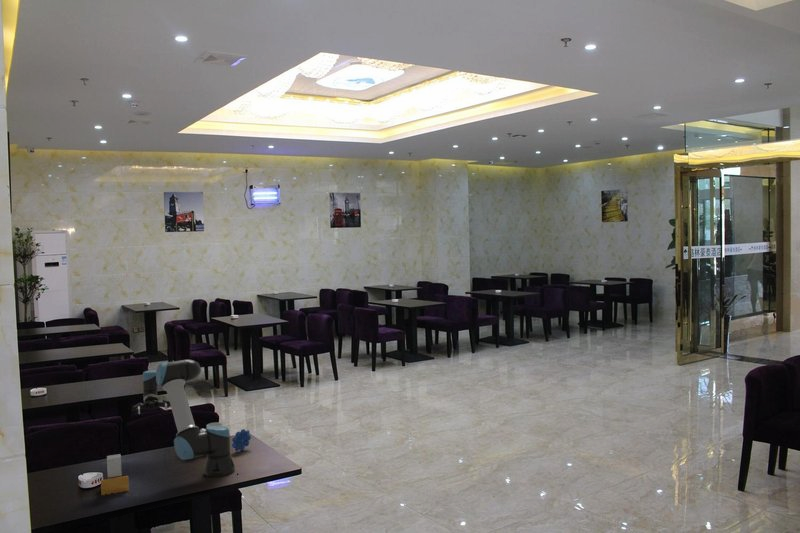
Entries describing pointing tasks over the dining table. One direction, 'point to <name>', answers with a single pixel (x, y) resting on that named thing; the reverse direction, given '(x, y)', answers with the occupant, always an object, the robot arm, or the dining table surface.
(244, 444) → the grapes
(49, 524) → the dining table surface
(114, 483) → the orange rectangular block
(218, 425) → the mug
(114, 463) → the aluminium block
